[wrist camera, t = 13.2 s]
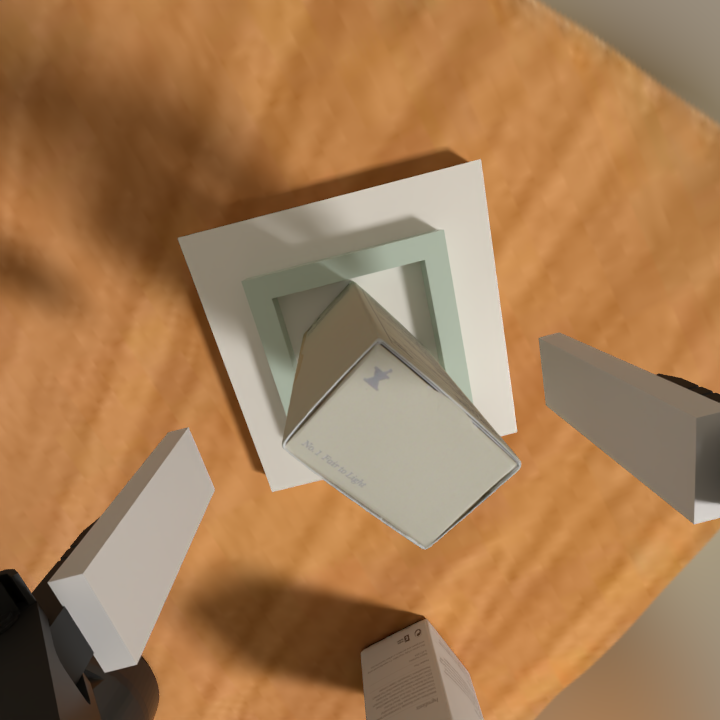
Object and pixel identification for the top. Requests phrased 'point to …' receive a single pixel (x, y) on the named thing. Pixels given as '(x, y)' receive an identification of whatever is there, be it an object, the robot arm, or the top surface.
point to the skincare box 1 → (390, 422)
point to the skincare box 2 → (416, 678)
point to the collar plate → (373, 274)
